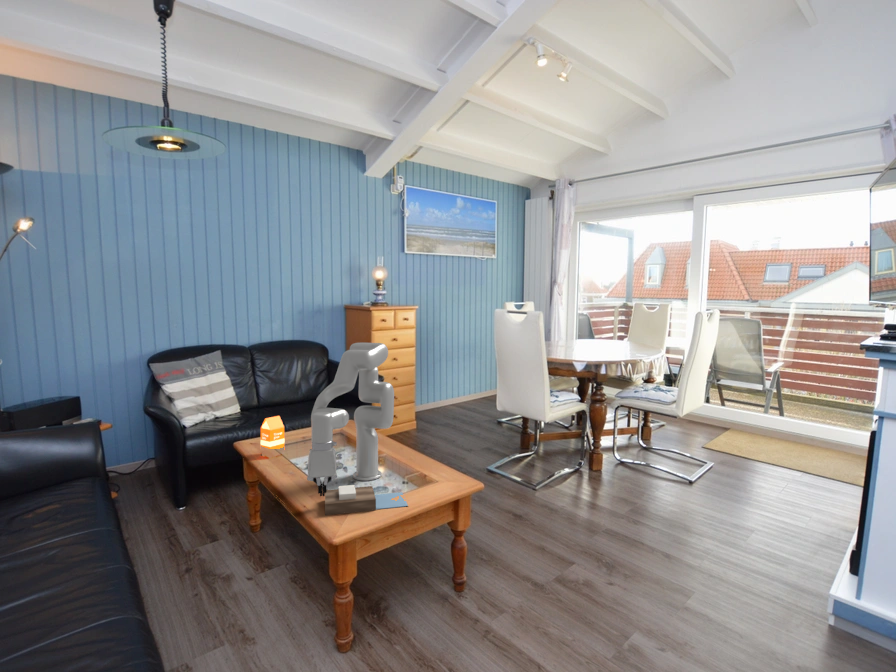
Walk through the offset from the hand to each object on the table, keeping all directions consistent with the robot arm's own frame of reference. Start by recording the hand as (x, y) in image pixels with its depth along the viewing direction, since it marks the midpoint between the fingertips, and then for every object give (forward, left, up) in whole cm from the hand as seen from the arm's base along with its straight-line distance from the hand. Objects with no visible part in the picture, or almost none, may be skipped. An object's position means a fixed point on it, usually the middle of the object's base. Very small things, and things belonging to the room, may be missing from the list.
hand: (322, 494), depth 169 cm
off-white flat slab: (0, +9, 0) cm, 9 cm away
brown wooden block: (0, +10, -5) cm, 11 cm away
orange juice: (-75, -26, -5) cm, 80 cm away
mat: (-1, +25, -5) cm, 25 cm away
